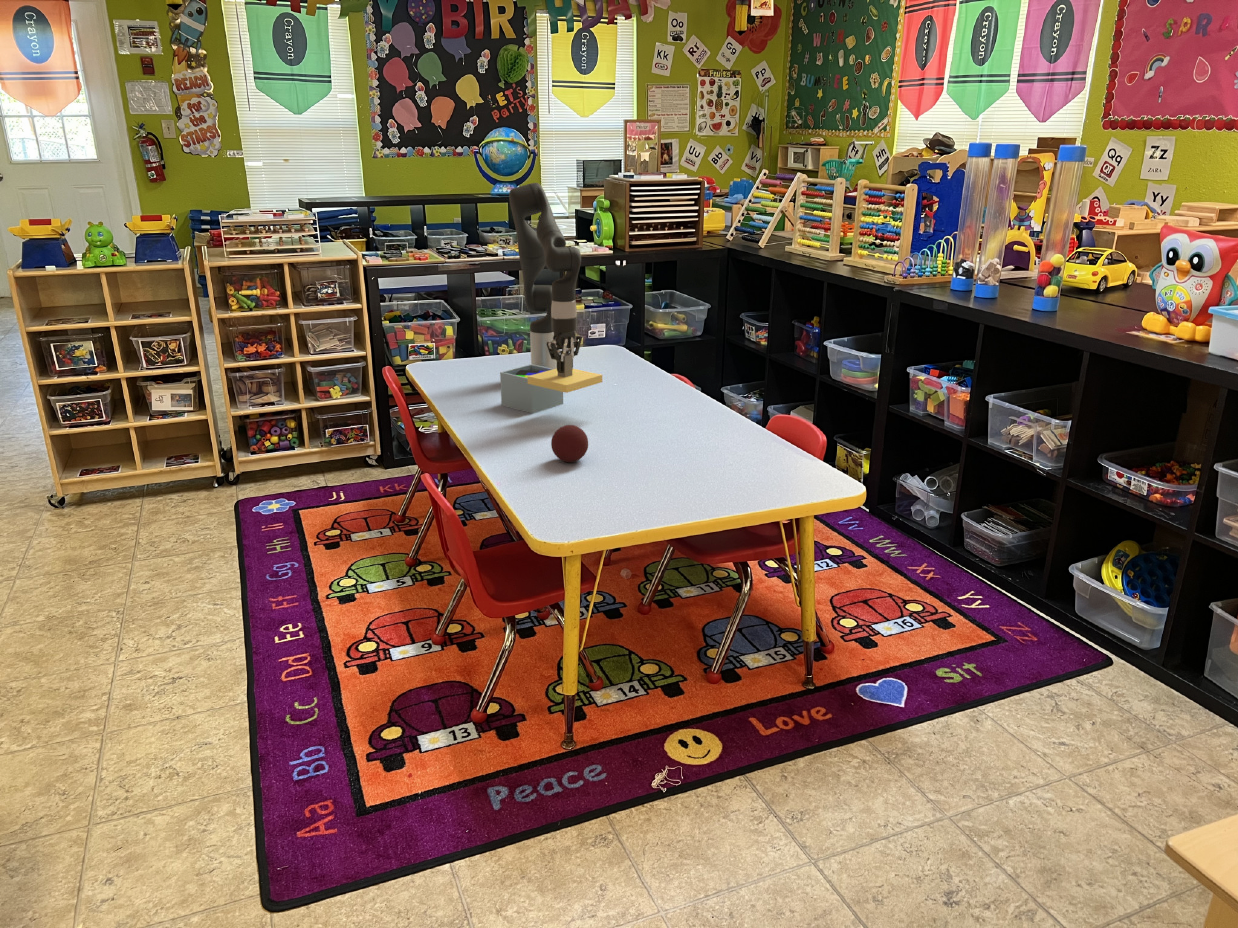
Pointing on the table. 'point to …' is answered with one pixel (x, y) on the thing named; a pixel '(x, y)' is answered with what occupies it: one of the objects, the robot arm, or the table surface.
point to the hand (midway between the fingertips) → (564, 371)
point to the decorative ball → (569, 443)
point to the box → (527, 391)
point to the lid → (565, 378)
